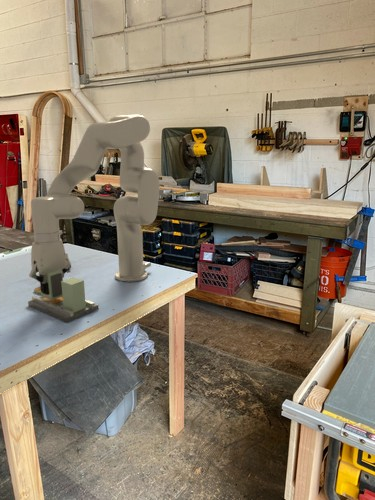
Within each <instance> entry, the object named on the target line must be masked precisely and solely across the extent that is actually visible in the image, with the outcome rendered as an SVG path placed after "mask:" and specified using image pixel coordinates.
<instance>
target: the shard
mask: <svg viewBox="0 0 375 500" xmlns="http://www.w3.org/2000/svg"><path fill="white" fill-rule="evenodd" d="M33 292H34V293H37V294H40V295H42V292H41V286H40V285H39V286H38V287H35V288H34V289H33Z"/></svg>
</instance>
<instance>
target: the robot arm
mask: <svg viewBox="0 0 375 500" xmlns="http://www.w3.org/2000/svg"><path fill="white" fill-rule="evenodd" d="M150 132H151V126H150V122H149V120H148V119H147V118H146V117H145V116H143V115H140V114H128V115H125V114H124V115H115V116H113V117H111V118H110V119H109V120H108V121H103V122H93V123H91V124H90V125H88V127H87V128H86V130H85V132H84V133H83V136H82V138H81V139H80V140H81V141H80V142H79V144H78V147H77V148H76V152H75V153H74V155H73V158H72V160H71V161H70V162H69V163H68V164H67V165H66V166H65V167H63V169H62V170H61V171H60V172H59V173H58V174H57V175H56V176H55V178H54V179H53V180H52V182H51V184H50V186H49V189H48V191H47V193H46V195H45V196H39V197H38V196H37V197H34V198H32V199H31V200H30V208H31V217H32V219H31V220H32V226H33V227H32V229H33V237H34V241H33V242H32V243H31V253H30V260H31V270H30V272H29V275H28V277H29V278H32V279H34V280H35V281H36V282H37V281H38V283H40V285H39V287H40V286H41V292H42V293H43V294H46V295H49V287H48V283H47V282H46V281H47V274H48V273H50V272H53V271H57V270H60V269H61V271H62V281H63V278H64V277H65V274H66V272H67V270H69V269H70V268H69V267H70V264H69V263H68V261H67V260H66V254H67V253H66V250H65V246H64V243H63V240H62V238H61V236H62V235H63V230H60V223H59V222H60V220H73V219H77V218H79V217H80V216H81V215H82V214H84V210H85V203H84V201H83V199H81V198H80V197H78V196H77V195H75V194H71V192H72V191H73V190H74V189H75V188H76V187H77V185H79V184H80V183H82V182H83V181H85V180H88V179H89V178H91V177H93V176H95V174H96V173H97V172H98V170H99V168H100V166H101V164H102V162H103V159H104V156H105V155H106V153H107V151H108V150H119V151H120V169H119V186H120V188H121V190H122V191H123V192H126V193H131V194H136V195H137V196H129V195H123V196H121V197H119V198H117V199H116V201H114V204H113V215H114V220H115V225H116V233H117V234H116V235H117V255H118V271H117V272H115V274H114V275H115V276H114V277H115V279H116V280H118V281H121V282H126V283H127V282H129V283H131V282H139V281H142V280H143V281H144V280H145V279H146V278H147V277H148V272H147V271H146V269H147V268H150V267H152V263H151V262H150V261H149V262H145V263H144V251H143V250H144V248H143V247H144V245H143V243H144V242H143V239H144V237H143V229H142V226H149V225H152V224H153V223H154V221H156V218H157V215H158V210H159V209H158V207H159V198H160V197H159V196H160V195H159V194H160V188H161V187H160V178H159V176H158V173H157V172H156V171H155V170H154V169H152V168H148V167H145V151H144V148H143V145H142V143H141V142H143V141H144V140H146V139H147V138H148V136H149V135H150ZM65 253H66V254H65ZM68 268H69V269H68ZM37 273H38V275H37Z"/></svg>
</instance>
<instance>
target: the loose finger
mask: <svg viewBox="0 0 375 500" xmlns="http://www.w3.org/2000/svg"><path fill="white" fill-rule="evenodd" d="M61 281H62V271H61V269H60V270H57V271H53V272H50V273H48V274H47V281H46V282H47V283H48V287H49V295H46V294H43V293H42V294H41V297H42V296H43V297H45V298H48V299H50V300H53V299H56V298H59V297H62V296H63V295H62V284H61Z"/></svg>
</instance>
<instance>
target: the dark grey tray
mask: <svg viewBox="0 0 375 500" xmlns="http://www.w3.org/2000/svg"><path fill="white" fill-rule="evenodd" d="M27 303H28V305H27V306H28V307H30V308H33V309H35V310H37V311H39V312H42V313H44V314H46V315H48V316H51V317H52V318H54V319H57V320H59V321H62V322H64V323H66V324H68V323H70V322H73V321H75V320H77V319H80V318H82V317H85V316H86V315H89V314H90V313H93V312H96V311H98V310H99V304H98V303H95V302H93V301H91V300H89V299H88V300H87V299H85V303H86V308H84V309H81V310H79V311H77V312H73V311H70V310H68V309H66V308H64V306H63V296H62V297H59V298H56V299H53V300H50V299H48V298H45V297H43V296H42V295H41V296H39V297H38V296H37V295H33V296H31V300H28V301H27Z"/></svg>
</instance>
